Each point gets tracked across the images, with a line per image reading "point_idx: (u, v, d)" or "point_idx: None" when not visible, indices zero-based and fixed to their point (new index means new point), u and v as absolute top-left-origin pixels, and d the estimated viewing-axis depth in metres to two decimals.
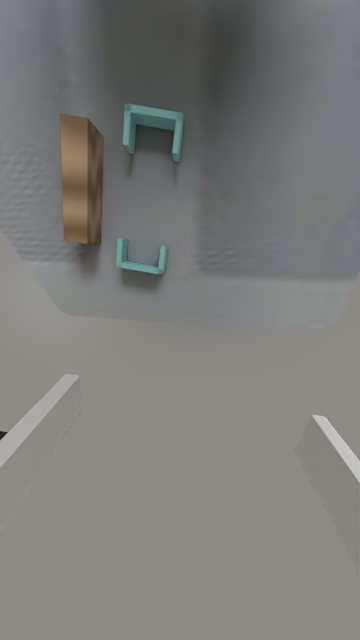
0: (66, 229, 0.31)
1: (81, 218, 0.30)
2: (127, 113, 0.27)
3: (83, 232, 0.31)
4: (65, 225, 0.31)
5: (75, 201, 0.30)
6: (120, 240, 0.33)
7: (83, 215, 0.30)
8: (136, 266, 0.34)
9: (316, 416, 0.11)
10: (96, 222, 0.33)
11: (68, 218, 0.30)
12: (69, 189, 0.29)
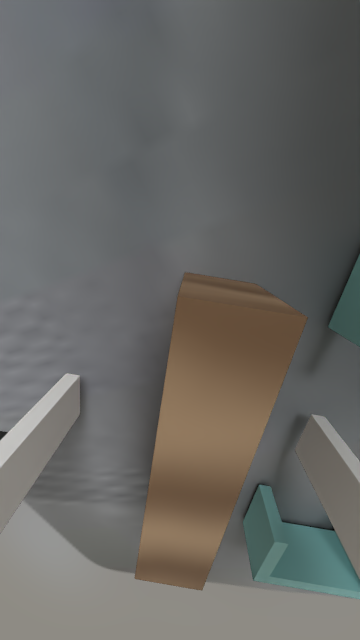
0: (144, 564, 0.10)
1: (196, 552, 0.10)
2: None
3: (195, 573, 0.10)
4: (144, 557, 0.10)
5: (187, 521, 0.09)
6: (281, 546, 0.12)
7: (206, 546, 0.09)
8: (308, 584, 0.13)
9: (316, 416, 0.11)
10: None
11: (155, 548, 0.10)
12: (171, 498, 0.08)
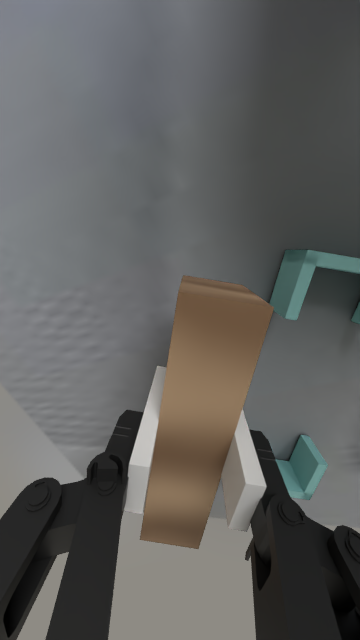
0: (148, 524, 0.12)
1: (193, 510, 0.11)
2: (308, 268, 0.13)
3: (192, 532, 0.12)
4: (148, 518, 0.12)
5: (185, 480, 0.11)
6: None
7: (201, 505, 0.11)
8: None
9: None
10: None
11: (158, 508, 0.11)
12: (173, 459, 0.10)
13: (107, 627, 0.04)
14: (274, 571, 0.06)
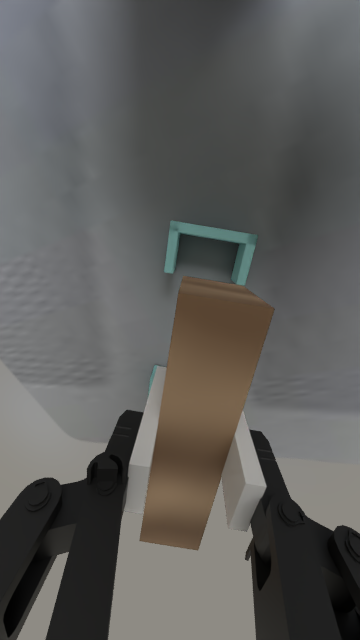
0: (148, 526, 0.12)
1: (192, 512, 0.11)
2: (173, 233, 0.18)
3: (192, 533, 0.12)
4: (148, 519, 0.12)
5: (184, 482, 0.11)
6: None
7: (201, 506, 0.11)
8: None
9: None
10: None
11: (158, 509, 0.11)
12: (172, 461, 0.10)
13: (107, 627, 0.04)
14: (274, 571, 0.06)
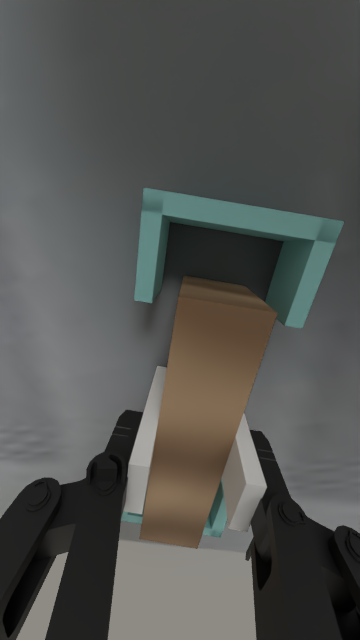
0: (148, 525, 0.12)
1: (192, 512, 0.11)
2: (151, 219, 0.08)
3: (192, 532, 0.12)
4: (147, 518, 0.12)
5: (184, 483, 0.11)
6: None
7: (200, 507, 0.11)
8: None
9: None
10: None
11: (158, 509, 0.11)
12: (172, 463, 0.10)
13: (107, 627, 0.04)
14: (274, 571, 0.06)
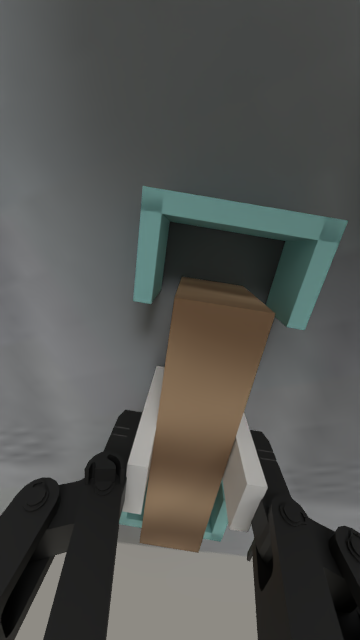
0: (147, 529, 0.12)
1: (192, 516, 0.11)
2: (151, 218, 0.08)
3: (192, 536, 0.12)
4: (147, 522, 0.12)
5: (184, 487, 0.10)
6: None
7: (201, 510, 0.11)
8: None
9: None
10: None
11: (157, 513, 0.11)
12: (171, 466, 0.10)
13: (105, 627, 0.04)
14: (276, 572, 0.06)
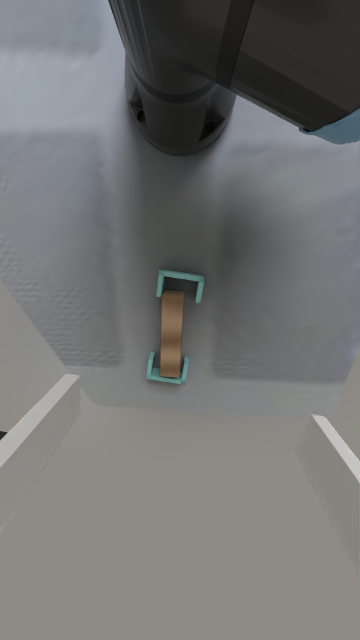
0: (162, 369, 0.38)
1: (175, 360, 0.37)
2: (160, 276, 0.35)
3: (176, 370, 0.38)
4: (162, 366, 0.38)
5: (171, 349, 0.37)
6: (150, 360, 0.40)
7: (177, 358, 0.37)
8: (163, 378, 0.41)
9: (316, 416, 0.11)
10: None
11: (164, 361, 0.38)
12: (166, 342, 0.36)
13: None
14: None
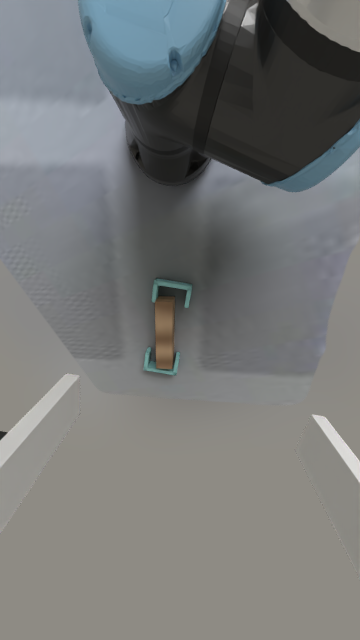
0: (157, 362, 0.46)
1: (168, 355, 0.45)
2: (155, 285, 0.42)
3: (169, 363, 0.45)
4: (157, 360, 0.45)
5: (164, 346, 0.44)
6: (147, 354, 0.47)
7: (169, 353, 0.45)
8: (158, 370, 0.48)
9: (316, 416, 0.11)
10: (173, 349, 0.48)
11: (159, 356, 0.45)
12: (160, 340, 0.44)
13: None
14: None
